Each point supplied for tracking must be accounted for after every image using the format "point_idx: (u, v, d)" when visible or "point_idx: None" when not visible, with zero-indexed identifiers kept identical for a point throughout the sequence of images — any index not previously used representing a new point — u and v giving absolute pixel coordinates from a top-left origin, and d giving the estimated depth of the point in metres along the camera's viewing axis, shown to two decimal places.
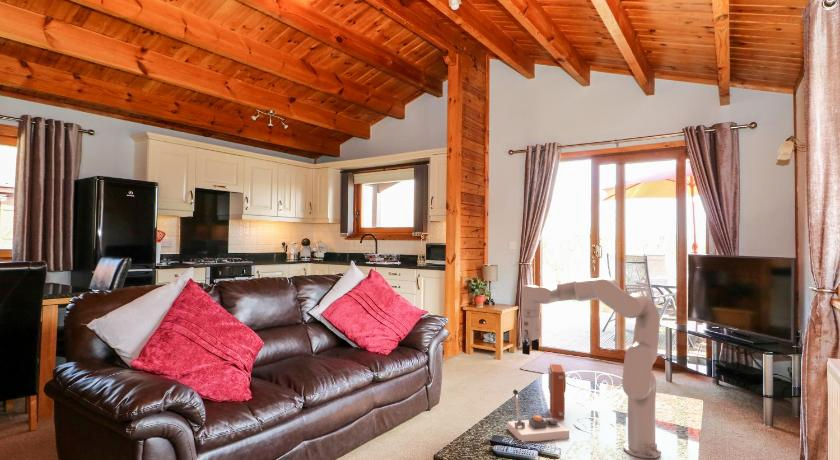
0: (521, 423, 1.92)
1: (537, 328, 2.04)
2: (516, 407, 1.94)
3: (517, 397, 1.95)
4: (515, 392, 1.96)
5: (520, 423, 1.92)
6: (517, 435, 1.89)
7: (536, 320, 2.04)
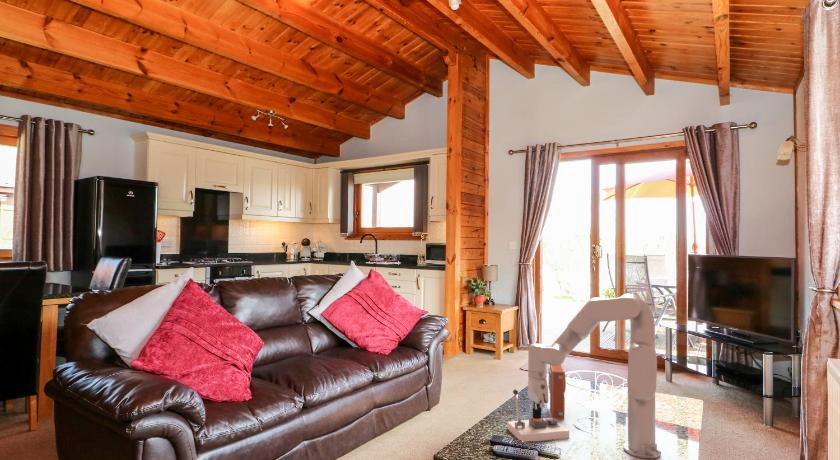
0: (521, 423, 1.92)
1: None
2: (516, 407, 1.94)
3: (517, 397, 1.95)
4: (515, 392, 1.96)
5: (520, 423, 1.92)
6: (517, 435, 1.89)
7: None
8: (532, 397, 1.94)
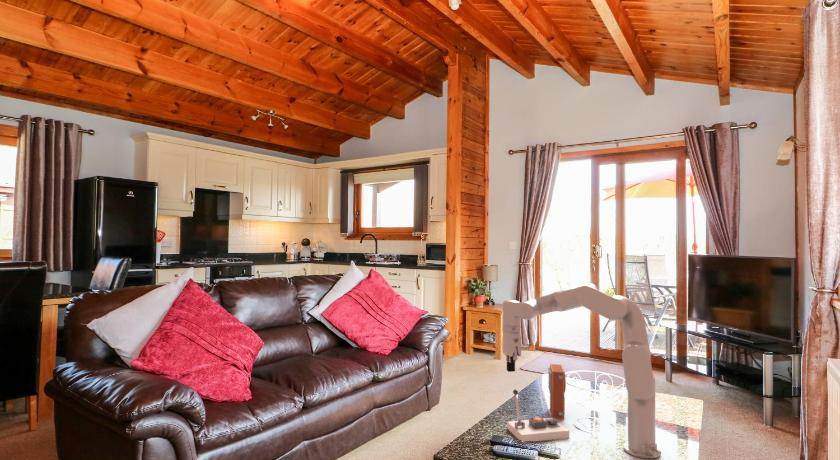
0: (521, 423, 1.92)
1: None
2: (516, 407, 1.94)
3: (517, 397, 1.95)
4: (515, 392, 1.96)
5: (520, 423, 1.92)
6: (517, 435, 1.89)
7: None
8: (506, 351, 2.02)
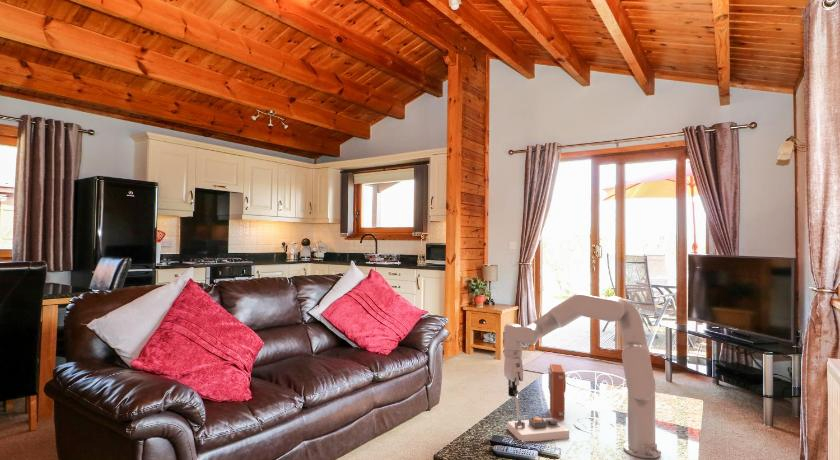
0: (521, 423, 1.92)
1: None
2: (516, 407, 1.94)
3: (517, 397, 1.95)
4: (515, 392, 1.96)
5: (520, 423, 1.92)
6: (517, 435, 1.89)
7: None
8: (508, 375, 1.99)
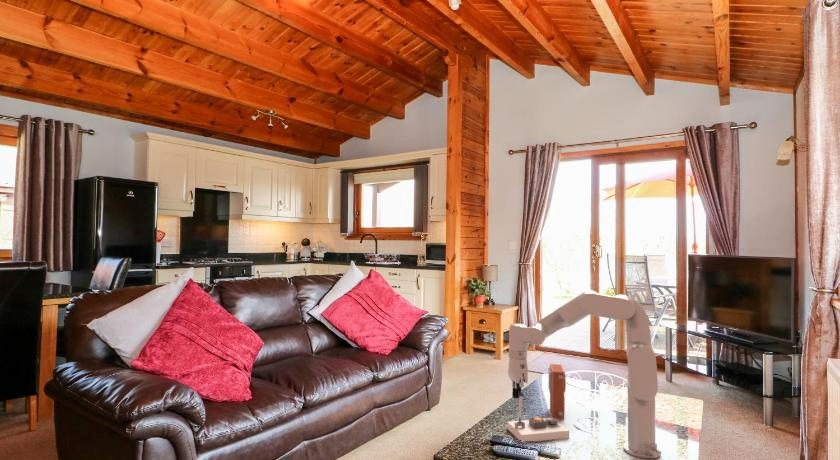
0: (521, 424, 1.92)
1: None
2: (519, 408, 1.92)
3: (521, 399, 1.91)
4: (520, 395, 1.91)
5: (520, 424, 1.91)
6: (517, 435, 1.89)
7: None
8: (512, 377, 1.94)
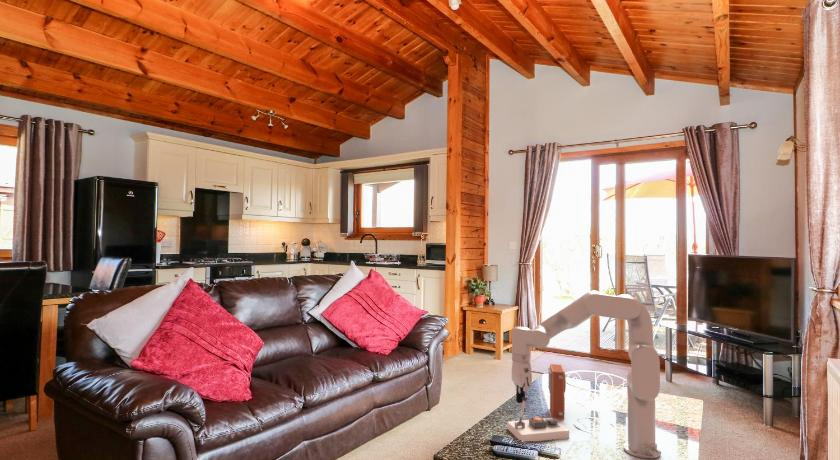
0: (521, 424, 1.92)
1: None
2: (521, 411, 1.90)
3: (524, 404, 1.89)
4: (524, 400, 1.88)
5: (520, 424, 1.91)
6: (517, 435, 1.89)
7: None
8: (516, 381, 1.91)
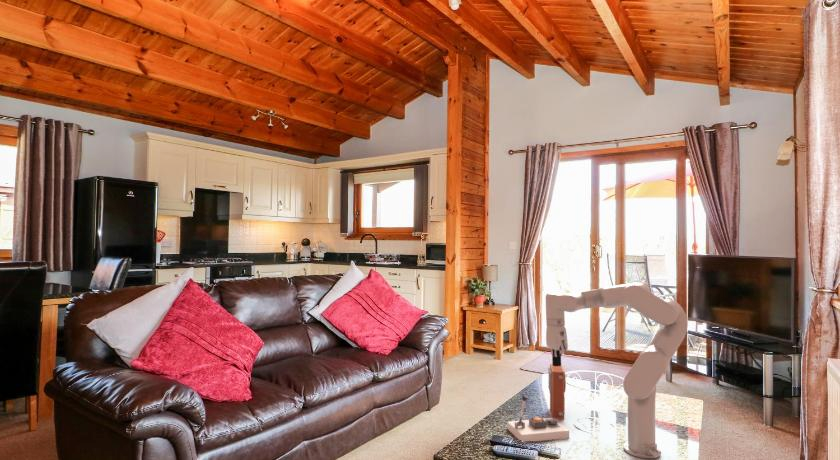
0: (521, 424, 1.92)
1: None
2: (521, 411, 1.90)
3: (524, 404, 1.89)
4: (524, 400, 1.88)
5: (520, 424, 1.91)
6: (517, 435, 1.89)
7: None
8: (551, 345, 1.97)
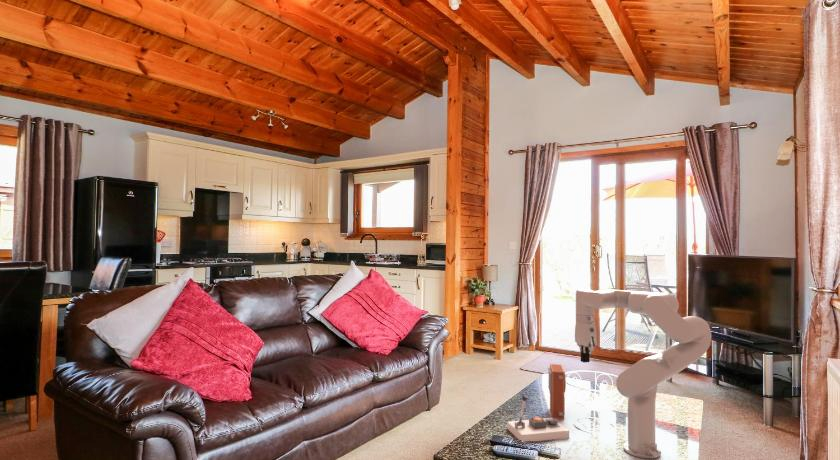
0: (521, 424, 1.92)
1: None
2: (521, 411, 1.90)
3: (524, 404, 1.89)
4: (524, 400, 1.88)
5: (520, 424, 1.91)
6: (517, 435, 1.89)
7: None
8: (580, 341, 1.97)
